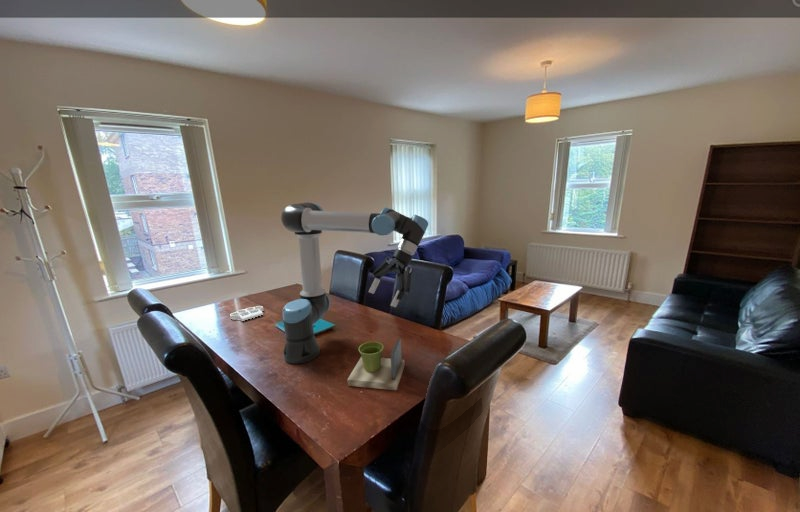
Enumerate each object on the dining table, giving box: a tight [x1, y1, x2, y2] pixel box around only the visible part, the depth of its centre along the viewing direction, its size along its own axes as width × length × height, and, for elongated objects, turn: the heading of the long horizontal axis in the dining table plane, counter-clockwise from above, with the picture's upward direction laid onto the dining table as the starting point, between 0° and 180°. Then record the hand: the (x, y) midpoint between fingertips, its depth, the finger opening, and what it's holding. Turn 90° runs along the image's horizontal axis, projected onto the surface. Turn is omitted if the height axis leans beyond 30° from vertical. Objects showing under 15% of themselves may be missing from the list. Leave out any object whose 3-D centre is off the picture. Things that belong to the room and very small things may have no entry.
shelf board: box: [347, 355, 406, 391], centre depth 118 cm, size 18×16×2 cm
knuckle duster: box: [229, 305, 264, 322], centre depth 180 cm, size 3×18×15 cm
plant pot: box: [358, 341, 385, 372], centre depth 117 cm, size 9×9×9 cm
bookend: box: [390, 338, 402, 380], centre depth 115 cm, size 1×12×10 cm, turn 169°
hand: (381, 299), depth 124 cm, fingers open, 13 cm apart
